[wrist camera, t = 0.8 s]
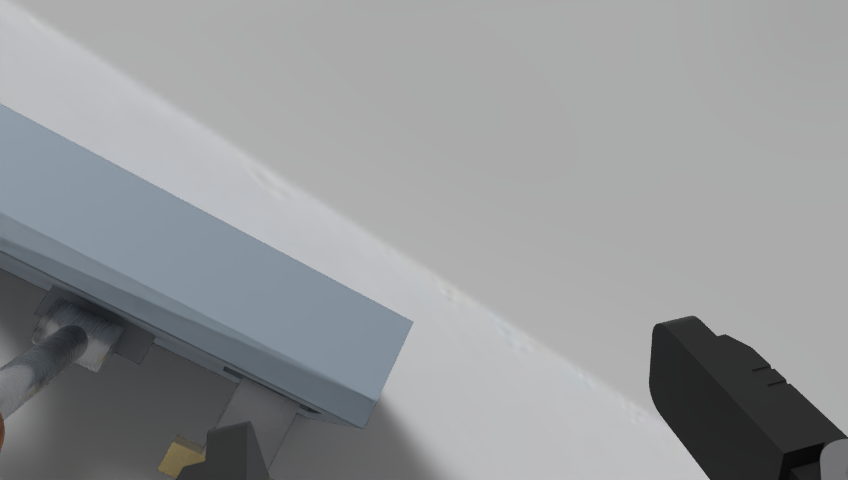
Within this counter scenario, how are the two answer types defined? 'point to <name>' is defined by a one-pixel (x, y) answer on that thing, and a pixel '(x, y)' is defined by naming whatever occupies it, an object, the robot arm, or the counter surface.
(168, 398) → the counter surface
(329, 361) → the block
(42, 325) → the lever
